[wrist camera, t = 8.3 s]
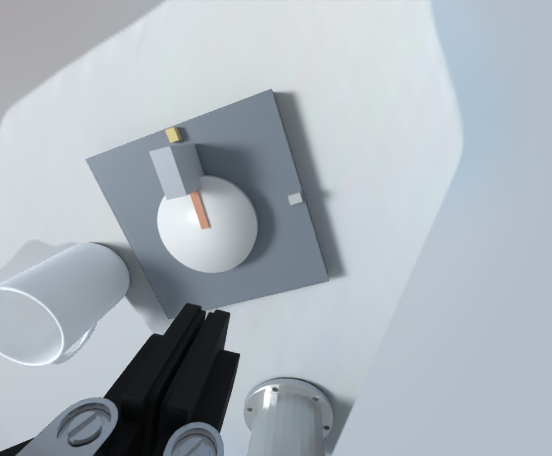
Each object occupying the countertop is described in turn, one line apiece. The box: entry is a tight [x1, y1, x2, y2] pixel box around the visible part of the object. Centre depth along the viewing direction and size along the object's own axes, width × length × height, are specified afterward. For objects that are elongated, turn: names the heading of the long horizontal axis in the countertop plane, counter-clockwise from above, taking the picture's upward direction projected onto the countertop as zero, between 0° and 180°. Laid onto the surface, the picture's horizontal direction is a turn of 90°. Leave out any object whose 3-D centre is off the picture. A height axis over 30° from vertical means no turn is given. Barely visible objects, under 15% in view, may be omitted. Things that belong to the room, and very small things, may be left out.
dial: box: [149, 143, 258, 273], centre depth 26 cm, size 13×10×5 cm
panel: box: [86, 89, 329, 319], centre depth 30 cm, size 20×20×3 cm
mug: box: [0, 243, 130, 366], centre depth 31 cm, size 9×12×11 cm
